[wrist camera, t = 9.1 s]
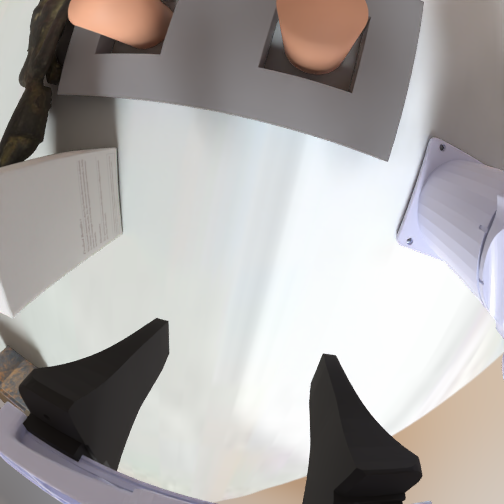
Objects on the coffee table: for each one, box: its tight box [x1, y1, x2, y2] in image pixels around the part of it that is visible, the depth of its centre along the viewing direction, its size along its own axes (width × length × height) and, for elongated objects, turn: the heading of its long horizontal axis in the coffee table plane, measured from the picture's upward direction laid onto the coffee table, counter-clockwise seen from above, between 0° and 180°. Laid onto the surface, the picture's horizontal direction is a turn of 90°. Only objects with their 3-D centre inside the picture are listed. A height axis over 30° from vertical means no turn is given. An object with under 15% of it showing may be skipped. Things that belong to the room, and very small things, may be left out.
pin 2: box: [276, 0, 368, 75], centre depth 12 cm, size 4×4×7 cm
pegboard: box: [57, 0, 424, 162], centre depth 15 cm, size 24×12×2 cm, turn 76°
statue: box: [0, 0, 71, 168], centre depth 15 cm, size 6×6×20 cm
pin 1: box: [68, 0, 173, 49], centre depth 13 cm, size 4×4×7 cm
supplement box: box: [0, 147, 122, 318], centre depth 16 cm, size 7×7×13 cm
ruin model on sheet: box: [0, 346, 37, 411], centre depth 31 cm, size 11×3×10 cm, turn 73°
